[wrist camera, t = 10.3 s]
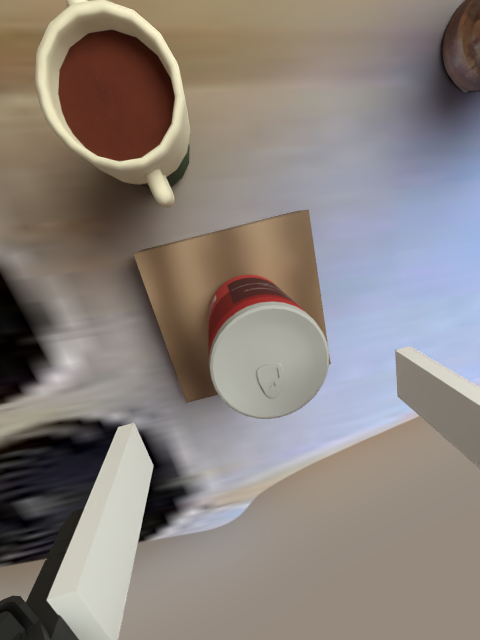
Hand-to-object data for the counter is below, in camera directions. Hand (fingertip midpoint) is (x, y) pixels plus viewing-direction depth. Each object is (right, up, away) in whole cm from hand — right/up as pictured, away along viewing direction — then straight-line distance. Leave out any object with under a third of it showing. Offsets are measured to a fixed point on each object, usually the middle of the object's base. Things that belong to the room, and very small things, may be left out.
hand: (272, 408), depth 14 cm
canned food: (-1, +5, +14) cm, 15 cm away
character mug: (-9, +20, +12) cm, 25 cm away
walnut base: (-2, +6, +18) cm, 19 cm away
